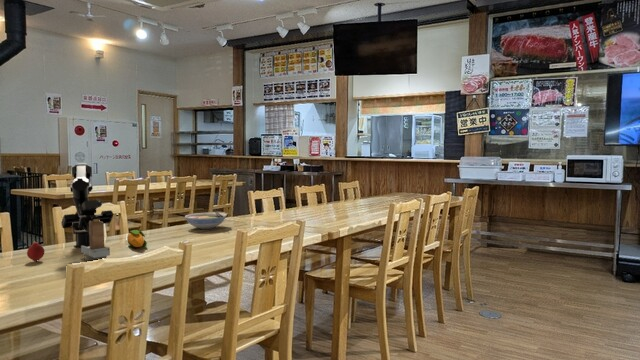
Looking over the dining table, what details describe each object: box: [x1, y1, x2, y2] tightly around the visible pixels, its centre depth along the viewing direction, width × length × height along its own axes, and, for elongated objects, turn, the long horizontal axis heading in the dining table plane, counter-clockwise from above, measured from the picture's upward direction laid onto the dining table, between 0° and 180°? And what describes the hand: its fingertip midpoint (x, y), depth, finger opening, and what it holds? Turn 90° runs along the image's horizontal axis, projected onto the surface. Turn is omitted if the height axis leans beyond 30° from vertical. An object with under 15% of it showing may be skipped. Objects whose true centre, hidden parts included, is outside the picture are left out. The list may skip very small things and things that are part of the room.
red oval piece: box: [26, 241, 45, 262], centre depth 180 cm, size 6×6×8 cm
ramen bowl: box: [184, 211, 228, 230], centre depth 254 cm, size 25×23×8 cm
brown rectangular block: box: [89, 219, 106, 249], centre depth 182 cm, size 5×4×12 cm
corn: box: [127, 229, 148, 249], centre depth 206 cm, size 7×8×20 cm
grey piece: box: [80, 246, 111, 261], centre depth 184 cm, size 14×8×5 cm, turn 46°
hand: (94, 235), depth 184 cm, fingers closed, pressing on brown rectangular block
